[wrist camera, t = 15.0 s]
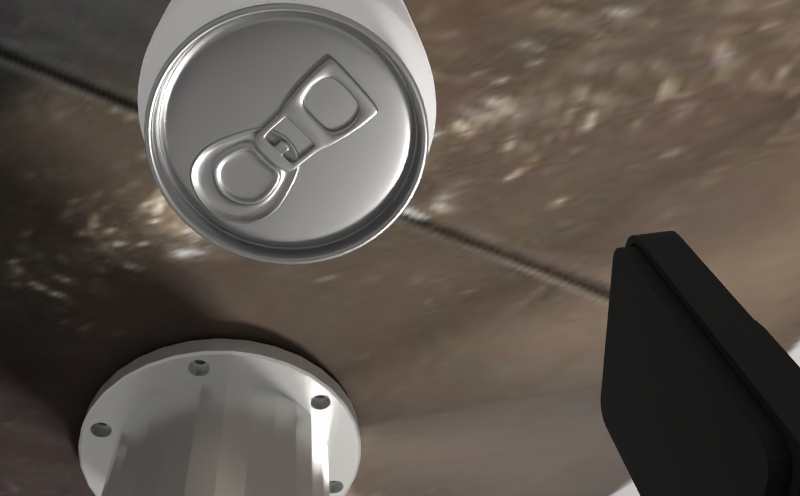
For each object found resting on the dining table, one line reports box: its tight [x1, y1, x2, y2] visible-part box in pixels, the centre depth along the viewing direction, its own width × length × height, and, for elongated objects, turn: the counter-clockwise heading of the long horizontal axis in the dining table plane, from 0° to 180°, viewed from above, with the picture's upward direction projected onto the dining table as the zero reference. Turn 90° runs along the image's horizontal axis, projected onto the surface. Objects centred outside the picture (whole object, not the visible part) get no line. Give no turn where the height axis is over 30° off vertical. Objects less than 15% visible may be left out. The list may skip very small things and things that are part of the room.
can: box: [138, 0, 436, 264], centre depth 20 cm, size 6×6×12 cm
